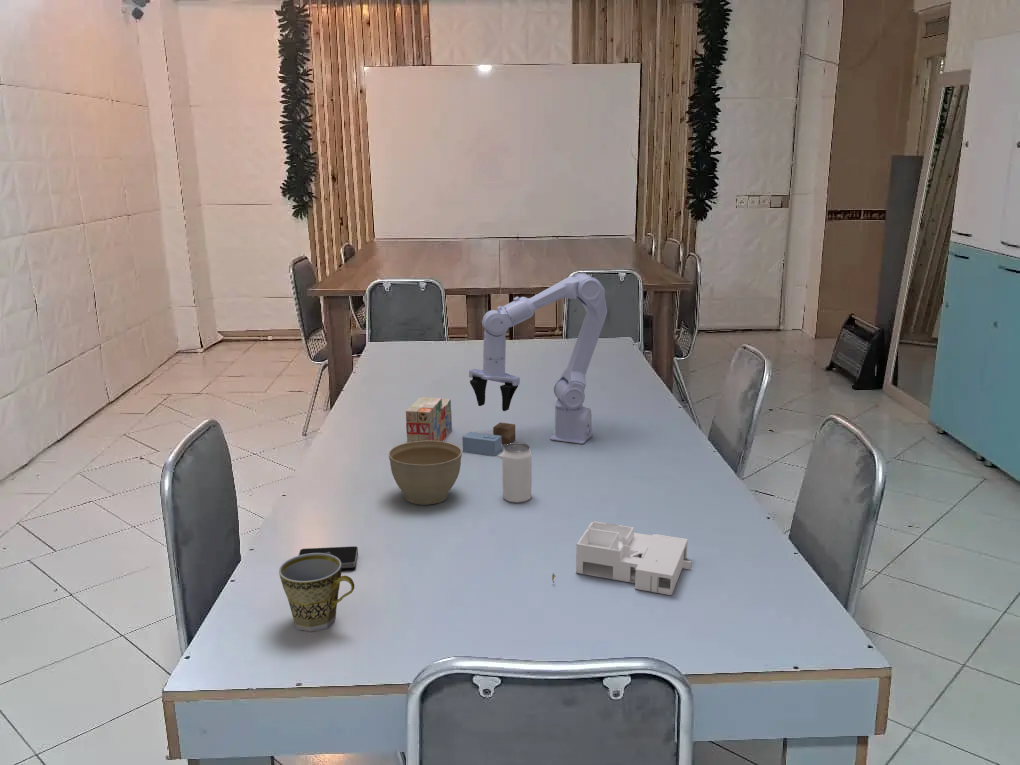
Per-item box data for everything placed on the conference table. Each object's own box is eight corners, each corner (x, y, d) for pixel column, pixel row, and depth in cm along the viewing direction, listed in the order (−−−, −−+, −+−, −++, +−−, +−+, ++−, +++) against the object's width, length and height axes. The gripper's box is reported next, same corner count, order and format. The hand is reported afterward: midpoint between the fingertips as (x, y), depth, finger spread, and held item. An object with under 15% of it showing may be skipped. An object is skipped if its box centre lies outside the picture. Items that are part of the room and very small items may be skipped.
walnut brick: (515, 440, 228) (515, 424, 226) (509, 445, 224) (509, 429, 222) (499, 438, 229) (499, 422, 228) (493, 443, 225) (493, 427, 224)
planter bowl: (466, 509, 184) (465, 462, 181) (391, 514, 182) (389, 466, 179) (458, 481, 199) (457, 437, 197) (389, 486, 197) (387, 441, 194)
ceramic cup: (271, 630, 138) (266, 575, 135) (306, 601, 147) (302, 548, 144) (340, 646, 134) (336, 589, 131) (372, 615, 143) (369, 561, 140)
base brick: (501, 450, 220) (501, 434, 219) (494, 456, 216) (494, 440, 214) (470, 446, 223) (469, 430, 222) (462, 451, 219) (462, 435, 218)
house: (551, 583, 152) (552, 553, 151) (581, 541, 169) (581, 513, 167) (676, 606, 145) (678, 575, 143) (694, 559, 161) (696, 530, 160)
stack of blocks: (430, 429, 237) (429, 387, 233) (452, 431, 235) (451, 388, 232) (407, 456, 216) (405, 410, 213) (430, 457, 215) (429, 411, 212)
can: (510, 505, 186) (510, 454, 182) (497, 495, 191) (497, 445, 188) (536, 500, 189) (536, 449, 185) (522, 490, 194) (522, 440, 191)
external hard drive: (355, 572, 158) (355, 562, 157) (295, 575, 157) (294, 565, 156) (358, 555, 164) (358, 546, 164) (300, 558, 163) (299, 548, 163)
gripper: (462, 356, 220) (462, 406, 223) (509, 364, 212) (508, 416, 216) (477, 351, 225) (477, 400, 229) (524, 359, 218) (523, 409, 221)
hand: (493, 407), depth 223 cm, fingers open, 7 cm apart
